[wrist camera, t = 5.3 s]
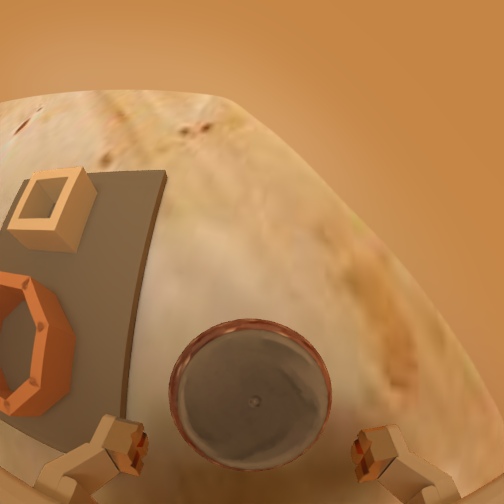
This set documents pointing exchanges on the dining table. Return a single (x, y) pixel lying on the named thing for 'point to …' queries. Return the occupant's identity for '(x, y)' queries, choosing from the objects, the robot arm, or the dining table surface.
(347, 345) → the dining table surface
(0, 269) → the socket board
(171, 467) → the dining table surface
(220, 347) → the supplement bottle
